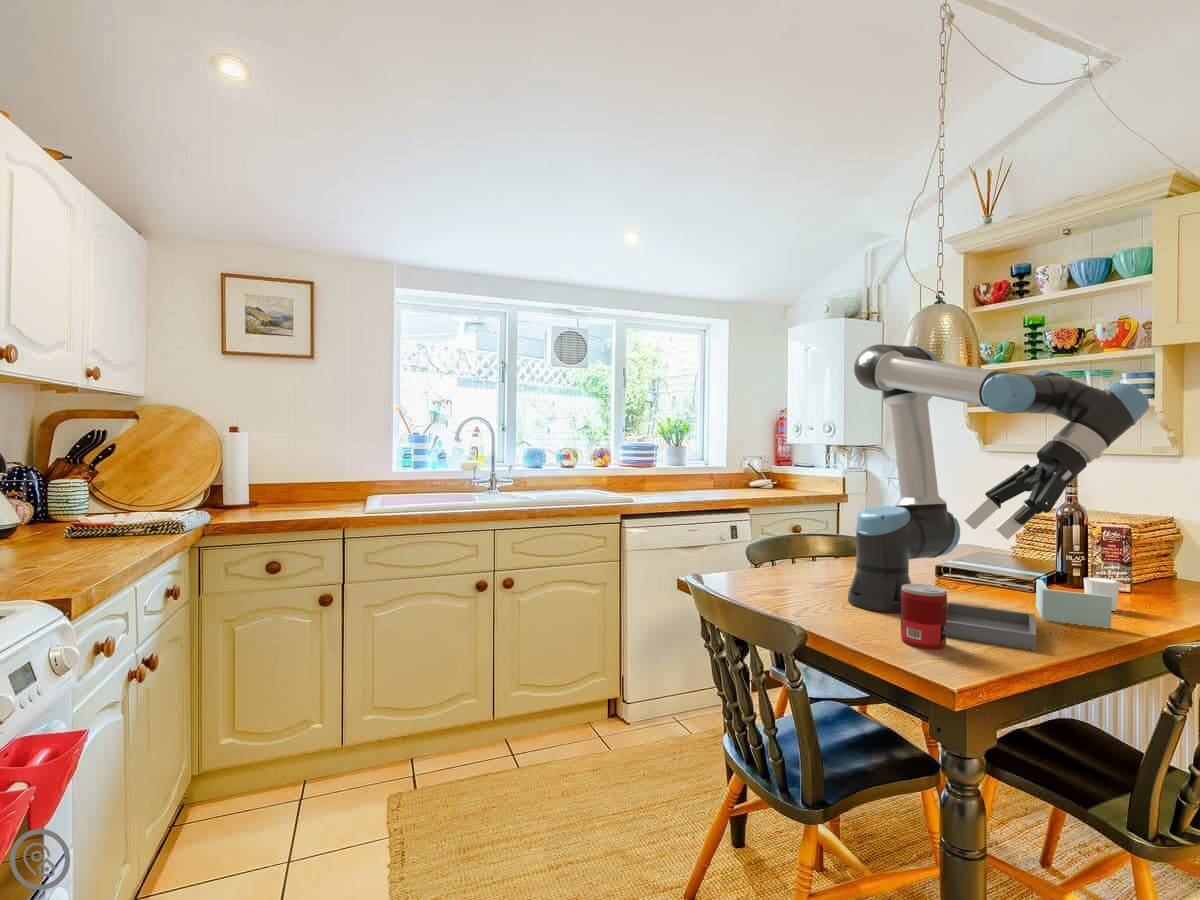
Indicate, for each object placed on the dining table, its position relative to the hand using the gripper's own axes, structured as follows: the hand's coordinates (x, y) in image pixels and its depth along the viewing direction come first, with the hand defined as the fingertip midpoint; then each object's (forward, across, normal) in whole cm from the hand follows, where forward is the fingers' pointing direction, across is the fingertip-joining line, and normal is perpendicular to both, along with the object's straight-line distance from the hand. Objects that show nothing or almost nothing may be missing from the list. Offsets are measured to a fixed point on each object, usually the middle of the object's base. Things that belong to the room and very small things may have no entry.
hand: (984, 529), depth 121 cm
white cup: (-12, +33, -45) cm, 57 cm away
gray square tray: (+13, +10, -20) cm, 25 cm away
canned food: (+24, 0, -8) cm, 26 cm away
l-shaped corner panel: (-4, +24, -37) cm, 44 cm away
